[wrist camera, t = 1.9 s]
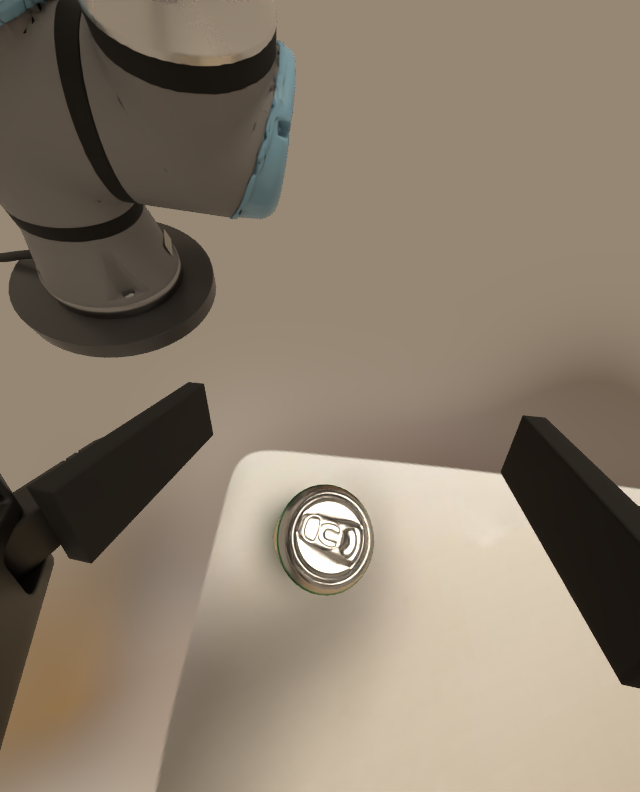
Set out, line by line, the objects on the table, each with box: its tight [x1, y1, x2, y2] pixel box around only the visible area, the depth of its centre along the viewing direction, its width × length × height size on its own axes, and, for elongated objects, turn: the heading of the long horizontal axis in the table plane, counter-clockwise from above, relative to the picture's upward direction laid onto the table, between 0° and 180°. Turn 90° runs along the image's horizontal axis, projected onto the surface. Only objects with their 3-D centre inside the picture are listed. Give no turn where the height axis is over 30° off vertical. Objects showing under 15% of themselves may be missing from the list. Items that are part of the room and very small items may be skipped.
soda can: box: [273, 485, 374, 596], centre depth 19 cm, size 5×5×12 cm
